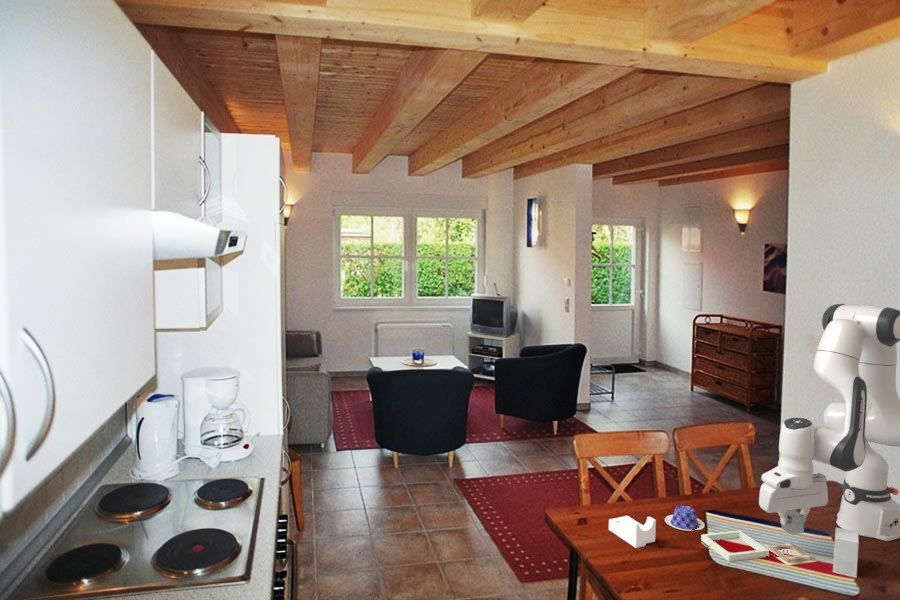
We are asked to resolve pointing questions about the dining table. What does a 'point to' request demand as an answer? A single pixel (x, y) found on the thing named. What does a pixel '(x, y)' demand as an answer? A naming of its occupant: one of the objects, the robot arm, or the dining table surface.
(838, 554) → the small box
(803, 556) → the socket holder
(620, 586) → the dining table surface
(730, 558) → the tray
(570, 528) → the dining table surface
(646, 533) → the bracket
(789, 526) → the gray block
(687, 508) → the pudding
